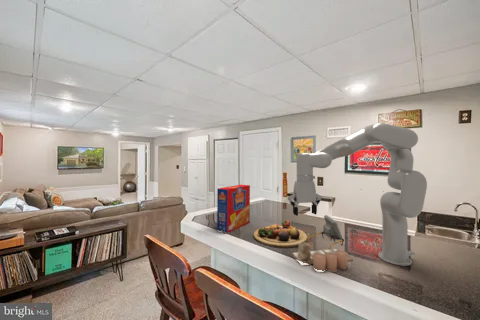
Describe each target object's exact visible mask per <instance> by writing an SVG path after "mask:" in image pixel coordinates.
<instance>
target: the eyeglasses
mask: <svg viewBox="0 0 480 320" xmlns="http://www.w3.org/2000/svg"><path fill="white" fill-rule="evenodd" d="M324 234H325V232H323V231H320V232H318V233H315V234H312V235H310V236H309V237H308V240H307V242H306V243H308V241H309V240H310V238H311V237H314V236H317V235H322V238H323V239H325V237H324ZM327 234H329V233H327ZM329 235H331V234H329ZM331 236H332V235H331ZM335 238H337V236H332V237H330V239H329V241H331V240H333V241H334V243H332V244H331V245H330V246H329V248H328V250H329V249H331V248H332V246H334V245H336V244H339V243H340V246H342V245H343V244H344V242H345V239H344V238H343V237H342V238H341V239H340V240H338V241H336V240H335ZM339 238H340V237H339Z"/></svg>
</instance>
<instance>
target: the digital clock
mask: <svg viewBox="0 0 480 320" xmlns="http://www.w3.org/2000/svg"><path fill="white" fill-rule="evenodd" d="M323 217H324V221H325V224H323V231H322V232H325V233H324V234H325V235H326V236H327V237H328V238H331V237H332V236H337V237H336V239H338V240H342V239H343V236H342V233H341V229H340V228H339V225H338V222H337V221H336V220H335V219H334V218H332V217H331V216H329V215H326V214H325V215H324V216H323ZM327 233H329V234H331V235H332V236H331V235H329V234H327ZM339 237H340V238H339ZM332 238H333V237H332ZM341 238H342V239H341Z"/></svg>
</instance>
